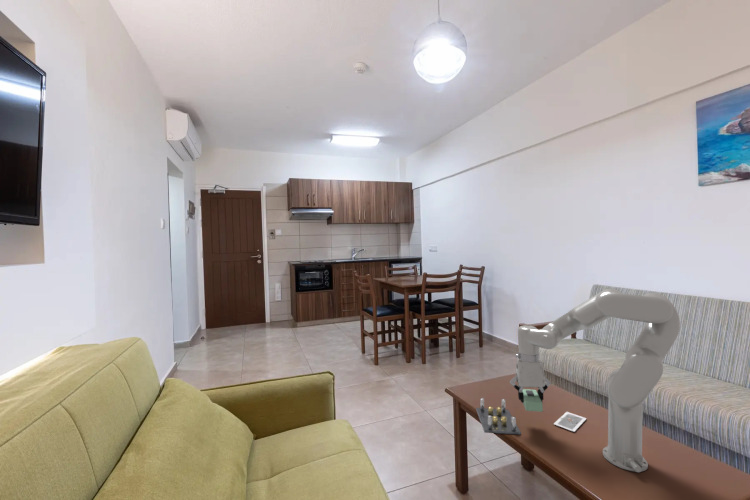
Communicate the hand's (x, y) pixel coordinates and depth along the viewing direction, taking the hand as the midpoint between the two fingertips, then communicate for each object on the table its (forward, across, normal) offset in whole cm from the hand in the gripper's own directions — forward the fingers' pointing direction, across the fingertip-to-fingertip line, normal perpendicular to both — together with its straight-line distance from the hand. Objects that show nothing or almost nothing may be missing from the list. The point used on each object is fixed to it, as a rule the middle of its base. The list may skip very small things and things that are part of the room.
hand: (530, 400), depth 134 cm
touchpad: (+13, +18, +8) cm, 24 cm away
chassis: (+12, -12, +6) cm, 18 cm away
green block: (+1, 0, 0) cm, 1 cm away
